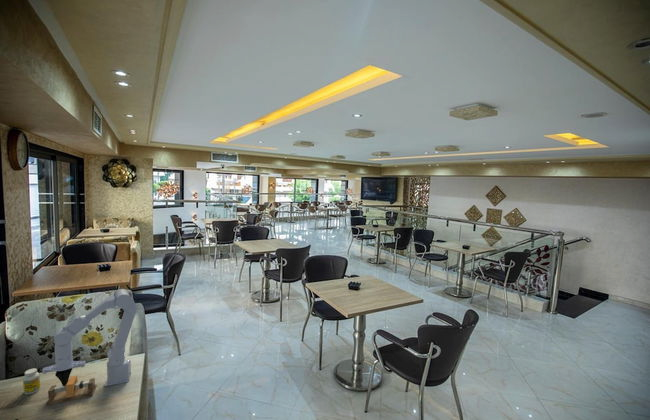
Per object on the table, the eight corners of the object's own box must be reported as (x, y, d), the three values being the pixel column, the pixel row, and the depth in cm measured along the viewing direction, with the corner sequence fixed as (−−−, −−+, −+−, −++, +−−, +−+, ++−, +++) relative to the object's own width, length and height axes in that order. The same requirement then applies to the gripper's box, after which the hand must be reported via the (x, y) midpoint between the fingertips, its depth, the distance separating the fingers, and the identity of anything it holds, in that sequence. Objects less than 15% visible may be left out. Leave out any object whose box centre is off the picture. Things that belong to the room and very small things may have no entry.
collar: (77, 387, 139) (77, 375, 138) (73, 396, 133) (72, 384, 133) (71, 388, 138) (70, 376, 137) (66, 398, 132) (65, 385, 132)
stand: (96, 385, 142) (96, 375, 141) (92, 396, 136) (91, 385, 135) (53, 394, 136) (52, 383, 135) (46, 405, 129) (45, 394, 129)
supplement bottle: (41, 385, 141) (40, 365, 140) (38, 392, 137) (37, 372, 135) (25, 389, 138) (24, 369, 137) (22, 396, 134) (21, 376, 132)
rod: (94, 383, 139) (94, 378, 139) (92, 386, 137) (92, 381, 137) (51, 391, 133) (50, 386, 133) (49, 394, 131) (48, 390, 131)
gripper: (87, 347, 139) (88, 375, 141) (46, 354, 133) (48, 382, 135) (81, 356, 133) (83, 385, 134) (39, 363, 127) (41, 393, 128)
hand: (65, 384), depth 134 cm, fingers closed
